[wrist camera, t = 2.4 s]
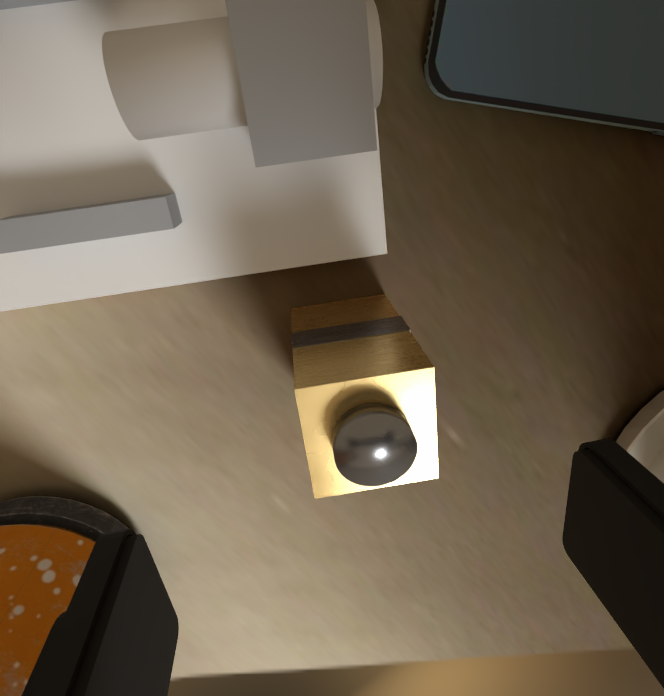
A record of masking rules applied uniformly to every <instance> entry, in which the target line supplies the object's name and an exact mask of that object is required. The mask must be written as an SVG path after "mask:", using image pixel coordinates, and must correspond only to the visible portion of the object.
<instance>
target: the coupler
mask: <svg viewBox="0 0 664 696" xmlns="http://www.w3.org/2000/svg"><path fill="white" fill-rule="evenodd" d="M291 321H292V333H291V343H292V353H293V367H294V390H295V395H296V400H297V406H298V411H299V417H300V422H301V427H302V433H303V438H304V444H305V449H306V454H307V460H308V465H309V471H310V476H311V481H312V487H313V492H314V497H315V499H316V498H322V497H328V496H334V495H340V494H346V493H352V492H358V491H364V490H370V489H376V488H382V487H388V486H394V485H400V484H405V483H411V482H417V481H423V480H429V479H435V478H438V451H437V424H436V397H435V371H434V366H433V365H432V363H431V362H430V360H429V359H428V357H427V356H426V354H425V353H424V351H423V350H422V348H421V347H420V345H419V344H418V342H417V341H416V339H415V338H414V336H413V335H412V334H411V331H410V328H409V327H408V326H407V324H406V323H405V321H404V320H403V318H402V317H401V316H399V314H398V313H397V311H396V310H395V308H394V307H393V306H392V304H391V303H390V301H389V300H388V298H387V297H386V295H385V294H381V295H375V296H368V297H362V298H355V299H348V300H342V301H335V302H329V303H322V304H316V305H309V306H303V307H296V308H291Z"/></svg>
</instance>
